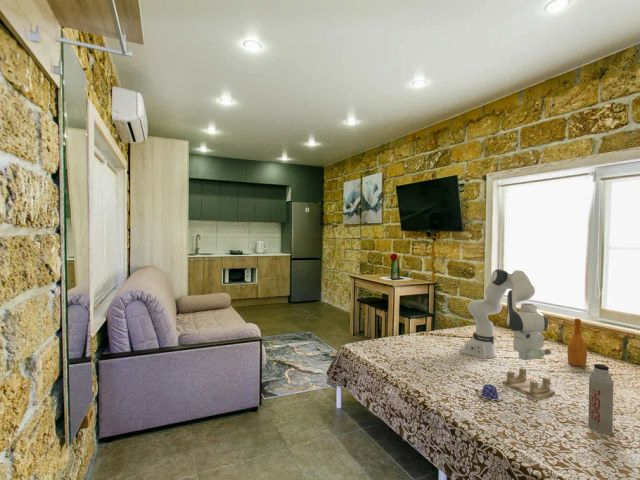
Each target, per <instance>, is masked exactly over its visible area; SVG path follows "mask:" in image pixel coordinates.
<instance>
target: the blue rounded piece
mask: <svg viewBox="0 0 640 480" xmlns="http://www.w3.org/2000/svg"><path fill="white" fill-rule="evenodd" d="M480 390H482V392H481V393H482V394H481V395H483V396H485V397H487V398H491V401H494V400H497V398H499V397H498V395H499V396H500V397H501V399H500V400H497V401H501V400H503V398H504V397H503V395H502V394H501V393H499V392H498V391H497V387H496V386H495V385H493V384H489V383H488V384H487V383H486V384H484V385H483V386H482V388H481V389H480ZM492 399H494V400H492ZM494 402H495V401H494Z"/></svg>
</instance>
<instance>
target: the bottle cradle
mask: <svg viewBox="0 0 640 480" xmlns="http://www.w3.org/2000/svg"><path fill="white" fill-rule="evenodd" d="M518 373H519V374H515V371H512V370H507V372H506V379H503V380H502V384H505V386H509V387H510V388H513V389H514V390H517V391H519V392H522V393H523V394H525V395H528V396H530V397H532V398H534V399H537V400H541V399H543V398H547V397H550V396H553V395H555V394H556V390H553V389H551V378H550V377H548V376H543V377H542V382H541V384H539V382H538V381H535V380H533V379H532V380H530V379H527V368H524V367H519V368H518Z"/></svg>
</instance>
